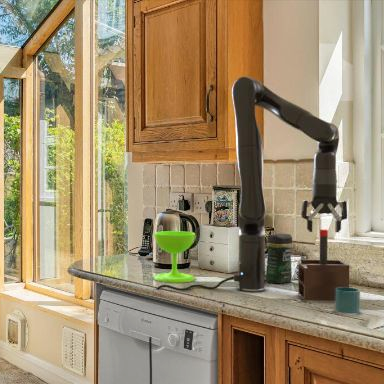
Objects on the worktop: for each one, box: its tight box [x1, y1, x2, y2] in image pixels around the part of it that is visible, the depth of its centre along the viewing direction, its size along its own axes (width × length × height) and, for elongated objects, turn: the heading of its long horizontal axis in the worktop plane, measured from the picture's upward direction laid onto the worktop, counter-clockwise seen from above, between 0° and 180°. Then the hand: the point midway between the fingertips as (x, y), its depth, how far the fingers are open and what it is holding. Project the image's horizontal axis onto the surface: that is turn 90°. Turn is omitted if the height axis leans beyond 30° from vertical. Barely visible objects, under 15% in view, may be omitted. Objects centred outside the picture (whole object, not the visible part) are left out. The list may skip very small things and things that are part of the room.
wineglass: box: [153, 230, 196, 284], centre depth 232 cm, size 16×16×18 cm
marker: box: [319, 229, 329, 264], centre depth 196 cm, size 2×2×12 cm
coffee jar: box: [265, 232, 293, 284], centre depth 226 cm, size 10×8×19 cm
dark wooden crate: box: [297, 259, 350, 302], centre depth 196 cm, size 14×11×12 cm
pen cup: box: [334, 286, 361, 315], centre depth 177 cm, size 7×7×7 cm
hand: (323, 232), depth 196 cm, fingers open, 8 cm apart
